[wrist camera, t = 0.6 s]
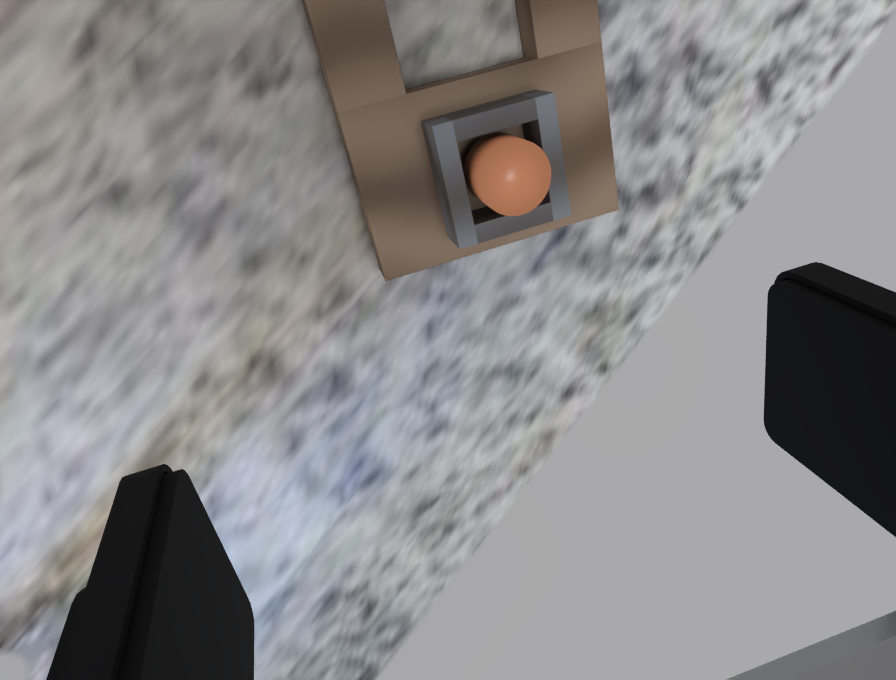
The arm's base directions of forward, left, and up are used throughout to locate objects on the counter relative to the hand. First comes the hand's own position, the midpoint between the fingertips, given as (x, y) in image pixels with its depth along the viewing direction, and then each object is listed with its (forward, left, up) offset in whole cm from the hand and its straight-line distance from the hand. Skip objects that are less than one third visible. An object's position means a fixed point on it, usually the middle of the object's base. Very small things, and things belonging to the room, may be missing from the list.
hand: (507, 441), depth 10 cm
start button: (+2, +8, -24) cm, 26 cm away
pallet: (-3, +8, -28) cm, 29 cm away
